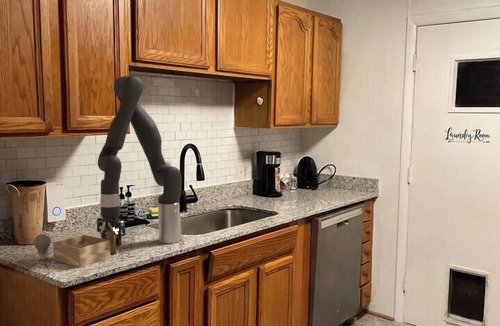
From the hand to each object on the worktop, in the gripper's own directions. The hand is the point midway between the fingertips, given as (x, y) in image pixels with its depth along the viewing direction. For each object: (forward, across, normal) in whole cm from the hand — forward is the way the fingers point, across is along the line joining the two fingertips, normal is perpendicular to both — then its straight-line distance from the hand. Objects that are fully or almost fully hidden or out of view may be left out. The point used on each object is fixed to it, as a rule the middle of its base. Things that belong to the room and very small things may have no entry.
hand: (111, 244), depth 192 cm
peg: (+4, 0, 0) cm, 4 cm away
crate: (+4, +4, +11) cm, 12 cm away
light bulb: (+4, +16, +20) cm, 26 cm away
